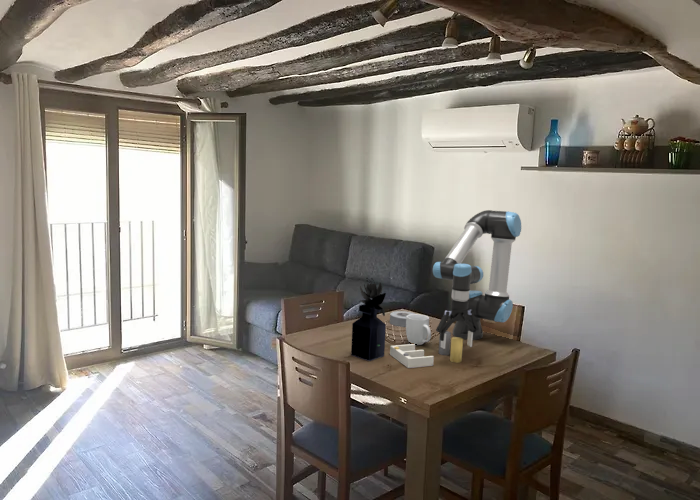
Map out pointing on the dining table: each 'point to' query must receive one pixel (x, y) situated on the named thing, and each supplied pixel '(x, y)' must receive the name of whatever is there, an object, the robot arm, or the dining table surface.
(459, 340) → the ochre plug
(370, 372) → the dining table surface
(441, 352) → the charcoal plug
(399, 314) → the grey wheel
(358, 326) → the vase
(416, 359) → the comb rack
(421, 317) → the mug
